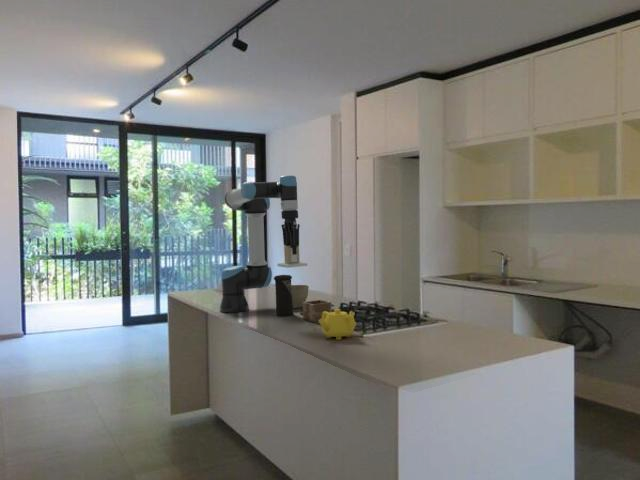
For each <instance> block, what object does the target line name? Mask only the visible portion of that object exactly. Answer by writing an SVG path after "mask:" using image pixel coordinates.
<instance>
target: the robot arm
mask: <svg viewBox="0 0 640 480" xmlns="http://www.w3.org/2000/svg"><path fill="white" fill-rule="evenodd" d="M297 182H298V181H297V177H296V176H295V175H281V176H280V177H279V181H262V182H261V181H260V182H259V181H257V182H256V181H254V182H253V181H246V182H243V183H242V184H241V187H240V188H233V189H230V190H228V191H226V193H225V195H224V203H225V205H226V206H227V207H228V208H229V209H231V210H234V211H238V212H239V211H241V212H242V211H243V212H244V215H245V216H246V217H247V234H248V235H247V237H248V239H247V241H248V242H247V243H248V247H247V248H248V262H247V263H245V265H246V266H245V267H244V266H243V265H234V266H233V265H232V266H229V267H225V268H224V269H222V270H221V277H220V278H221V290H222V298H221V302H220V305H219V306H220V307H219V311H220V312H221V313H225V312H233V313H241V312H242V313H243V312H246V311H248V310H249V304H248V300H247V298H246V295H245V290H251V289H252V290H253V289H262V288H267V287H269V286H270V284H271V282H272V277H273V272H272V268H271V266H269V265H268V261H266V259H265V256H266V255H265V254H266V253H265V225H264V223H265V222H264V219H265V218H264V217H265V215H266V214H267V211H268V210H269V209H270V207H271V201H270V199H280V207H281V208H280V209H281V211H280V212H281V213H280V214H281V219H282V220H284V222H283V223H282V224H281V226H280V227H281V229H282V230H281V231H282V241H283V247H284V246H290V251H291V262H297V250H296V247H297V246H299V247H300V226H301V225H300V224H299V223H297V220H296V219H298V218H299V211H298V209H299V208H298V207H299V206H298V205H299V204H298V183H297Z"/></svg>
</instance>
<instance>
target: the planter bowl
mask: <svg viewBox="0 0 640 480" xmlns="http://www.w3.org/2000/svg"><path fill="white" fill-rule="evenodd" d="M291 287H292V301H293V309H296V308H297V309H298V308H303V305H302V302H307V299H308V296H309V285H308V284H293V285H292V284H291Z"/></svg>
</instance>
